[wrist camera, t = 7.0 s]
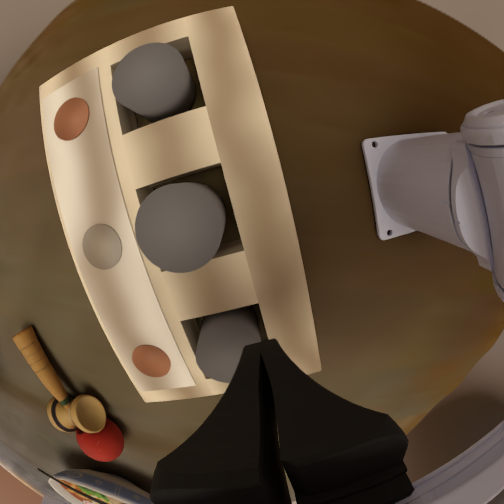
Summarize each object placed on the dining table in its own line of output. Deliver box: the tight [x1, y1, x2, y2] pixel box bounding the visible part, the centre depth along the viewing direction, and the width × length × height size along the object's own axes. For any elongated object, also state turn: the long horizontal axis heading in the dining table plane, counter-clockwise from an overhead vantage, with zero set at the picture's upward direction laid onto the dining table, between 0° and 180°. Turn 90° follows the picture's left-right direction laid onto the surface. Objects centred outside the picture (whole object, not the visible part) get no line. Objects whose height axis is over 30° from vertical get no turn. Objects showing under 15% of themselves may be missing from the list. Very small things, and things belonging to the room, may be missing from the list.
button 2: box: [135, 182, 226, 273], centre depth 15 cm, size 4×4×4 cm
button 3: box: [196, 306, 261, 383], centre depth 19 cm, size 4×4×4 cm
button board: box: [39, 6, 321, 402], centre depth 17 cm, size 15×27×4 cm, turn 14°
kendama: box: [12, 326, 124, 462], centre depth 21 cm, size 8×6×18 cm
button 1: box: [112, 43, 196, 122], centre depth 14 cm, size 4×4×4 cm
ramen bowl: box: [37, 468, 154, 504], centre depth 26 cm, size 25×23×8 cm
